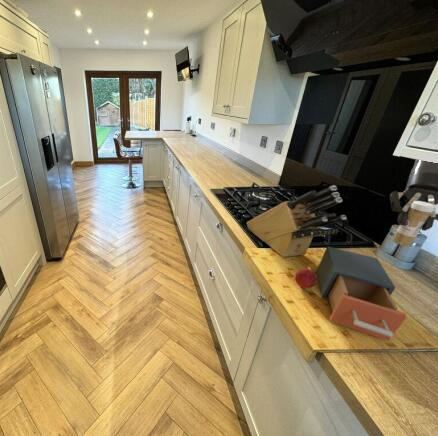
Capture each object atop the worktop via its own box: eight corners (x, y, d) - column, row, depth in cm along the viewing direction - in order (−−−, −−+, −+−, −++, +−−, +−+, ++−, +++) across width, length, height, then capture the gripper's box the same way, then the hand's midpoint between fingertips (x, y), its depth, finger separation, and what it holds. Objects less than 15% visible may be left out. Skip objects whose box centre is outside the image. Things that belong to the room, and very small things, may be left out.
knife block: (300, 273, 85) (333, 193, 72) (244, 227, 116) (260, 165, 102) (325, 270, 88) (362, 192, 74) (264, 226, 118) (282, 165, 105)
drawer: (396, 357, 56) (416, 332, 53) (333, 334, 62) (347, 309, 58) (371, 303, 72) (386, 281, 68) (323, 288, 77) (333, 266, 73)
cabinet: (377, 315, 69) (395, 287, 64) (321, 298, 75) (335, 271, 70) (362, 283, 82) (377, 258, 77) (316, 270, 87) (327, 246, 82)
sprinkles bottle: (387, 239, 75) (409, 200, 69) (398, 238, 76) (421, 200, 70) (403, 247, 71) (428, 206, 65) (415, 246, 72) (441, 206, 66)
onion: (316, 291, 77) (325, 272, 74) (302, 294, 76) (311, 275, 72) (301, 279, 82) (309, 261, 79) (288, 282, 81) (295, 263, 77)
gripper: (453, 190, 72) (440, 239, 69) (390, 180, 80) (376, 224, 76) (470, 176, 66) (457, 230, 63) (400, 167, 74) (386, 214, 70)
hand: (413, 226), depth 69 cm, fingers closed on sprinkles bottle, 4 cm apart
